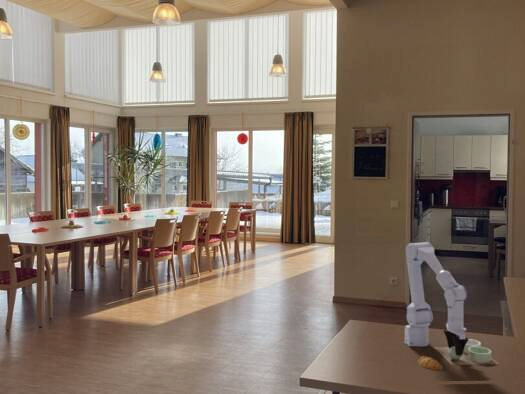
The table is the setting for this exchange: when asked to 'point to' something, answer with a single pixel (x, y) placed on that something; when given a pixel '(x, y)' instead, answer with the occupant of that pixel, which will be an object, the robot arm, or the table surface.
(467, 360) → the board
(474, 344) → the cup grey
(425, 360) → the pastry
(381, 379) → the table surface
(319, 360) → the table surface
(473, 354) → the cup green
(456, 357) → the ball
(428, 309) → the robot arm
